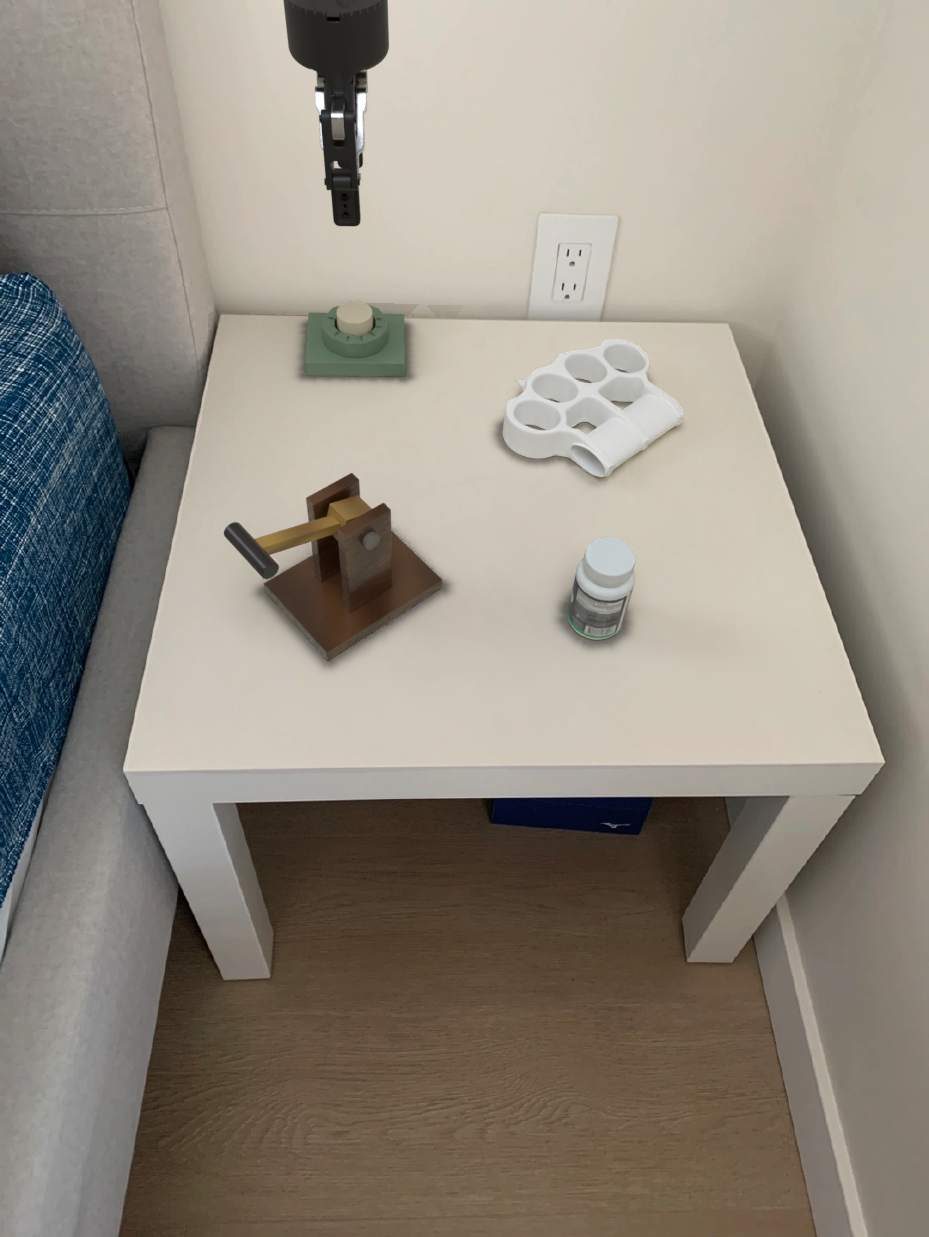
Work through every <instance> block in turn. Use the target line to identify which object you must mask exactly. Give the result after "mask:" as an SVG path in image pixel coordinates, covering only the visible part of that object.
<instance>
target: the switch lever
mask: <svg viewBox="0 0 929 1237" xmlns="http://www.w3.org/2000/svg"><path fill="white" fill-rule="evenodd" d="M371 509H373V508H372V507H371V506H370V505H369V504H368V503H367V502H365V500H364V499H362V498H361V496H360V497H359V496H358V495H357V496H353V497H350V498H347V499H343V500H340V501H337V502H333V503H330V504H329V509H328V513H327V517H324V518H320V519H317V520H314V521H311V522H309V521H308V522H304V523H301V524H297V525H295V526H292V527H291V526H290V527H287V528H284V529H281V530H278V531H276V532H275V531H274V532H271V533H269V534H265V535H263V536H259V537H256V538H254V537H253V535H252V534H250V533H249V532H248V531H247V529H246V528H244V527H243V525H242V524H241V523H240V522H237V521H234V522H231V523H229V524H228V525H227V526H226V527H225V528H224V530H223V536H224V537H225V539H226V540H227V541H228V542H229V543H230V544H231V545H232V547H234V548H235V550H236V551H237V552H238V553H239V554H240V555H241V556H242V557H243V558H244V560H246V562H247V563H248V564H249V565H250V566H251V567H252V568H253V569H254V570H255V571H256V573H257V574H258V575H259V576H260V577H261V578H262V579H264V580H270V579H272V578H274V577H276V576H277V573H278V572H279V569H280V565H279V563H278V562H276V561H275V560H274V558H273V557H272V556H271V555H275V554H277V553H280V552H283V551H287V550H290V549H292V548H296V547H298V546H302V545H305V544H308V543H311V541H314V540H318V539H321V538H324V537H327V536H330V535H332V536H333V537H334V538H335V539H336V540H337V541H338V533H337V529H338V528H340V527H342V526H343V525H345V524H347V523H349V522H350V521H352V520H354V519H356V518H357V517H359V516H361V515H363V514H364V513H366V512H368V511H369V510H371Z"/></svg>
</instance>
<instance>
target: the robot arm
mask: <svg viewBox="0 0 929 1237" xmlns="http://www.w3.org/2000/svg"><path fill="white" fill-rule="evenodd" d="M388 1H389V0H283V9H284V19H285V28H286V37H287V38H286V39H287V46H288V51H289V53H290V56H291V57H292V58H293V59H294V61H295V62H297V63H298V64H299V65H301V66H302V67H303V68H305V69H308V70H312V71H314V72H316V85H315V86H314V103H315V104H314V105H315V108H316V110H317V112H318V126H319V128H318V130H319V146H320V148H321V149H322V153H323V163H324V164H323V165H324V173H325V174H324V175H325V177H324V179H323V181H324V186H325V188H326V191H330V196H331V207H332V209H331V210H332V218H333V219H332V220H333V224H334V225H335V226H337V227H358V226H360V224H361V217H362V216H361V215H362V214H361V198H360V186H361V181H362V173H361V172H360V169H361V168H362V167H363V165H364V152H365V149H366V137H365V136H366V131H365V129H366V128H365V114H366V113H367V111H368V93H369V74H368V70H371V69H373V68H376V66H378V65H379V64H380V63H382V62H383V60H384V59H385V58H386V57H387V55H388V52H389V49H390V34H389V33H390V32H389V31H390V30H389V2H388ZM335 162H337V166H338V167H335Z"/></svg>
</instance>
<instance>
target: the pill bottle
mask: <svg viewBox="0 0 929 1237" xmlns="http://www.w3.org/2000/svg"><path fill="white" fill-rule="evenodd" d="M636 557H637V556H636V553H635V551H634V549H633V547H632V546H631V545H630V544H629V543H627V541H625V540H623V539H620V538H618V537H615V536H602V537H597V538H595V539H593V540H592V541H591V542H590V543H588V545H587V546H586V548H585V551H584V554H583V557H582V558H581V559H580V561H579V562H578V564H577V567H576V570H575V574H574V580H573V585H572V588H571V594H570V598H569V603H568V607H567V621H568V623H569V625H570V626H571V628H572V629H573V631H575V632H576V633H577V634H578V635H579V636H582V637H583V638H586V639H589V640H596V641H599V640H606V639H609V638H612V637H613V636H614V635H616V634H617V633H618V632H619V631H620V630H621V629H622V625H623V624H624V620H625V617H626V613H627V609H628V607H629V602H630V599H631V597H632V593H633V590H634V588H635V584H636V573H635V566H636V563H637V562H636V560H637V558H636Z"/></svg>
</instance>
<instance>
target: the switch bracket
mask: <svg viewBox="0 0 929 1237" xmlns="http://www.w3.org/2000/svg"><path fill="white" fill-rule="evenodd" d="M357 495H358V496H359V497H360V498H361V487H360V479H359V478H358V477H357V476H356V475H355V474H354V473H353V472H350V473H348V474H347V475H345V476H343V477H341V478H339V479H337V480H336V481H333V482H332V483H330V484H328V485H327V486H325V487H323V488H321V489H320V490H318V491H316V492H314V493H312V494H310V495H308V496H307V497H306V498H305V502H306V512H307V519H308V522H311V521H314V520H317V519H320V518H324V517H327V513H328V509H329V504H330V503H333V502H337V501H340V500H343V499H347V498H350V497H353V496H357ZM337 533H338V541H337V540H336V539H335V538H334V537H333V536H332V535H330V536H327V537H324V538H321V539H318V540H314V541H311V542H310V544H311V552H312V553H311V554H312V555H310V556H308V557H307V558H305V559H303V560H301V561H300V562H298V563H296V564H295V565H292V566H291V567H289V568H288V569H286V570H284V571H283V572H281V573H279V574H278V575H277V574H276V575H275V576H273V577H272V578H270V579H268V580H267V581H265V582H264V583H263V588H264V592H265V594H266V595H267V596H268V597H269V598H270V599H271V600H272V601H273V602H274V603H275V605H276V606H277V607H278V608H279V609H280V611H282V612H283V613H284V615H285V616H286V617H288V620H290V621H291V623H293V625H295V627H297V629H298V630H299V631H300V632H301V633H302V634H303V636H305V638H306V639H307V640H308V641H309V642H310V643H311V644H312V646H314V648H315V649H316V650H317V651H318V652H319V653H320V655H322V656H323V657H324V659H325V660H326V661H330V660H332V659H333V658H335V657H337V656H338V655H340V654H342V653H343V652H344V651H346V650H348V649H349V648H351V647H352V646H354V645H356V644H357V643H358V642H360V641H361V640H363V639H365V638H366V637H368V636H369V635H372V633H374V632H375V631H377V630H379V629H381V628H382V627H384V626H385V625H387V624H388V623H390V622H391V621H393V620H395V619H396V618H398V617H399V616H401V615H402V614H404V613H406V612H407V611H409V610H410V609H413V607H415V606H416V605H418V604H419V603H421V602H422V601H423V602H424V600H426V599H427V598H429V597H430V596H432V595H433V594H435V593H437V592H438V591H440V590H441V589H442V588H443V579H442V578H441V577H440V576H439V575H438V574H437V573H436V572H435V571H434V570H433V569H432V568H431V567H430V566H429V565H428V564H427V563H426V562H425V561H424V560H423V559H421V558H420V557H419V556H418V555H417V554H416V553H415V552H414V551H413V549H411V548H410V547H409V546H408V545H407V544H406V543H405V542H404V541H403V540H402V539H401V538H400V537H398V535H396V534H395V533H394V532H393V531H392V509H391V508H390V507H389V506H387V504H386V503H384V502H382V503H380V504H378V505H376V506H375V507H373V508H372V509H371V510H369V511H368V512H366V513H364V514H363V515H361V516H359V517H357V518H356V519H354V520H352V521H350V522H349V523H347V524H345V525H343V526H342V527H340V528H338V529H337Z"/></svg>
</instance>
